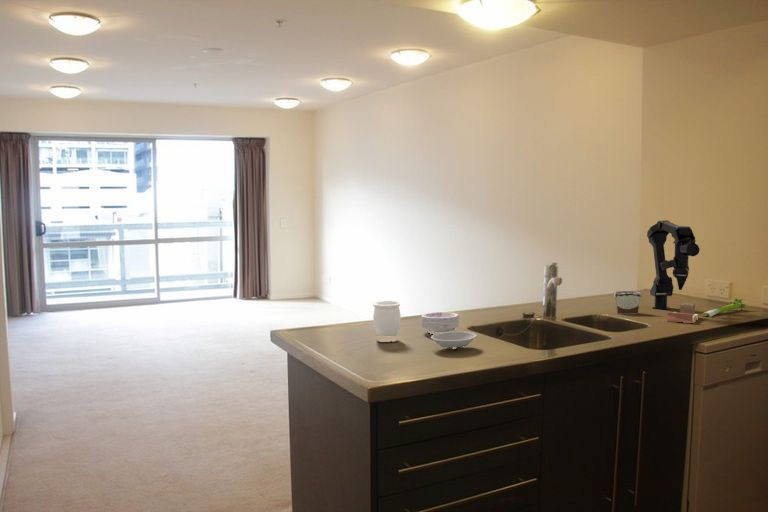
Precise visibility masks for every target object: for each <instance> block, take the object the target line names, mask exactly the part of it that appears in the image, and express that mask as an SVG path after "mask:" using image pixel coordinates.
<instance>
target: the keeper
mask: <svg viewBox="0 0 768 512" xmlns="http://www.w3.org/2000/svg"><path fill="white" fill-rule="evenodd" d="M679 313H685V314H693V315H694V314H696V303H685V302H682V303H681V304H680V305H679Z"/></svg>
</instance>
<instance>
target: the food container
mask: <svg viewBox="0 0 768 512" xmlns="http://www.w3.org/2000/svg"><path fill="white" fill-rule="evenodd" d="M613 297H614V298H615V305H616V306H615V308H616V314H617V315H638V314H639V311H640V303H641V302H640V301H641V298H642V297H643V296H642V293H641V291H640V292H639V291H632V290H619V291H616V292H614V295H613Z"/></svg>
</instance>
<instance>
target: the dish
mask: <svg viewBox="0 0 768 512" xmlns="http://www.w3.org/2000/svg"><path fill="white" fill-rule="evenodd" d="M477 336H478V335H477V334H476V333H473V332H469V331H454V332H444V333H438V334H434V335H431V336H430V338H431V339H432V340H433V341H434V342H435V343H436V344H437V345H438V346H440V347H442V348H445V347H450V348H449V349H451V348H453V347H461V348H464V347H466V346H468V345H469V344H471V343H472V342H473V341H474V339H476V338H477ZM463 346H464V347H463Z"/></svg>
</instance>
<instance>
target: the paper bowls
mask: <svg viewBox="0 0 768 512" xmlns="http://www.w3.org/2000/svg"><path fill="white" fill-rule="evenodd" d="M459 319H460V317H459V314H458V313H456V312H455V313H454V312H444V311H441V312H440V311H439V312H428V313H424V314H422V315H421V327H422V328H423V329H427V330H429V331H434V332H449V331H453V330H454V331H455V330H456V328H459V326H460V320H459ZM427 330H426V331H427Z"/></svg>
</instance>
